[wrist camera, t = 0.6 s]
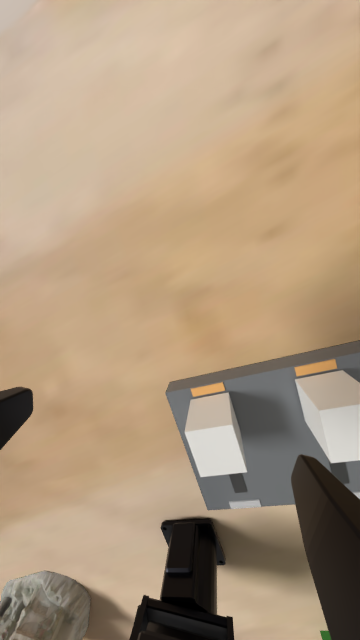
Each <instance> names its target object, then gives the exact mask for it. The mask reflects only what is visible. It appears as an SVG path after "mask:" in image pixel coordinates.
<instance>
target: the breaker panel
mask: <svg viewBox="0 0 360 640" xmlns="http://www.w3.org/2000/svg"><path fill="white" fill-rule="evenodd" d="M340 370H343V371H344V372H346V373H347V374H348V375H350V376H351V377H352V378H354V379H355V380H356V381H358V382H359V383H360V340H359V341H355V342H350V343H346V344H341V345H337V346H332V347H328V348H323V349H319V350H314V351H309V352H305V353H300V354H296V355H291V356H287V357H282V358H278V359H273V360H269V361H264V362H260V363H255V364H250V365H246V366H241V367H237V368H232V369H228V370H223V371H219V372H214V373H210V374H205V375H201V376H196V377H191V378H187V379H182V380H178V381H173V382H170V383H169V385H168V388H167V390H166V396H167V399H168V402H169V404H170V407H171V410H172V413H173V415H174V418H175V421H176V424H177V427H178V429H179V432H180V435H181V438H182V440H183V443H184V446H185V449H186V451H187V454H188V457H189V460H190V462H191V465H192V468H193V471H194V474H195V476H196V479H197V482H198V485H199V487H200V490H201V493H202V496H203V498H204V501H205V504H206V507H207V510H219V509H238V508H252V507H262V506H277V505H292V504H295V500H294V495H293V490H292V486H291V474H292V471H293V468H294V465H295V462H296V459H297V457H298V455H300V454H303V455H307V456H311V457H314V458H316V459H317V460H318V461H319V462H320V463H321V464H322V465H324V466H325V467H326V468H327V469H328V470H329V471H330V472H331V473H332V474H333V475H334V476H335V477H336V478H337V479H339V480H340V481H341V482H342V483H343V484H344V485H345V486H346V487H347V488H348V489H349V490H350V491H351V492H352V493H354V494H355V495H356V496H357V497H358V498H359V499H360V460H358V461H348V462H339V463H331V462H330V461H329V459H328V457H327V456H326V454H325V452H324V451H323V449H322V448H321V446H320V444H319V443H318V441H317V440H316V438H315V436H314V435H313V433H312V431H311V430H310V428H309V427H308V425H307V423H306V422H305V418H304V414H303V410H302V406H301V402H300V398H299V394H298V390H297V386H296V382H295V379H299V378H304V377H310V376H315V375H320V374H325V373H330V372H335V371H340ZM228 392H229V396H230V399H231V402H232V405H233V409H234V412H235V415H236V418H237V422H238V425H239V428H240V432H241V438H242V444H243V450H244V456H245V462H246V468H247V472H245V473H235V474H226V475H216V476H207V477H200V474H199V471H198V469H197V466H196V463H195V460H194V457H193V455H192V452H191V449H190V446H189V443H188V441H187V438H186V435H185V427H186V422H187V416H188V411H189V406H190V401H191V400H192V399H197V398H202V397H207V396H212V395H217V394H223V393H228Z"/></svg>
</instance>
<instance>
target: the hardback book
mask: <svg viewBox="0 0 360 640" xmlns="http://www.w3.org/2000/svg"><path fill="white" fill-rule="evenodd" d="M320 632H321V636H322V639H323V640H331V637H330V634H329V631H320Z"/></svg>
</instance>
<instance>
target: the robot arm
mask: <svg viewBox="0 0 360 640" xmlns="http://www.w3.org/2000/svg"><path fill="white" fill-rule="evenodd" d="M32 412H33V393H32V390H31V389H28V388H24V387H16V388H12V389H8V390H4V391H0V450H1V449H2V448H3V446H4V445H5V444H6V443H7V442H8V441H9V440H10V438H11V437H12V436H13V435H14V434H15V433H16V432H17V431H18V429H19V428H20V427H21V426H22V425H23V424H24V423H25V421H26V420H27V419H28V418H29V417H30V415H31V414H32ZM291 486H292V490H293V495H294V500H295V505H296V509H297V514H298V519H299V524H300V528H301V533H302V538H303V542H304V547H305V551H306V555H307V558H308V562H309V566H310V569H311V573H312V576H313V579H314V583H315V586H316V590H317V593H318V596H319V600H320V603H321V606H322V610H323V613H324V617H325V620H326V623H327V627H328V630H329V634H330V637H331V640H360V499H359V498H358V497H357V496H356V495H355V494H354V493H352V492H351V491H350V490H349V489H348V488H347V487H346V486H345V485H344V484H343V483H342V482H341V481H340V480H339V479H337V478H336V477H335V476H334V475H333V474H332V473H331V472H330V471H329V470H328V469H327V468H326V467H325V466H324V465H322V464H321V463H320V462H319V461H318V460H317V459H316V458H314V457H311V456H307V455H303V454H300V455H298V457H297V459H296V462H295V465H294V468H293V471H292V474H291ZM161 530H162V532H163V535H164V537H165V540H166V542H167V544H168V547H169V548H168V554H167V560H166V566H165V572H164V578H163V584H162V589H161V595H160V600H156V599H152V598H149V596H146V595H144V596H143V599H142V603H141V605H139V606H138V609H137V613H136V617H135V622H134V626H133V629H132V633H131V636H130V640H234V631H233V618H232V617H229V616H227V617H223V616H219V615H217V565H225V556H224V553H223V550H222V547H221V545H220V542H219V539H218V536H217V533H216V531H215V528H214V525H213V522H212V521H211V520H209V519H202V520H185V521H168V522H162V525H161Z"/></svg>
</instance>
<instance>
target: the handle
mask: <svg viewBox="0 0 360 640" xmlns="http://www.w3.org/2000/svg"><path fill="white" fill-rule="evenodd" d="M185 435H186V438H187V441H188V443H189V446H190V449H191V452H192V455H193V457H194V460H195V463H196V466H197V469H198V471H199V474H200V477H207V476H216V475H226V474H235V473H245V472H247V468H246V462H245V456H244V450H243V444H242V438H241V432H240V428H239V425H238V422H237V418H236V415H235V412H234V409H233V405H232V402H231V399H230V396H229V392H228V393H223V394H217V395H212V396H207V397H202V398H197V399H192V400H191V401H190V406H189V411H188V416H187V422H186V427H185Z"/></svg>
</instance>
